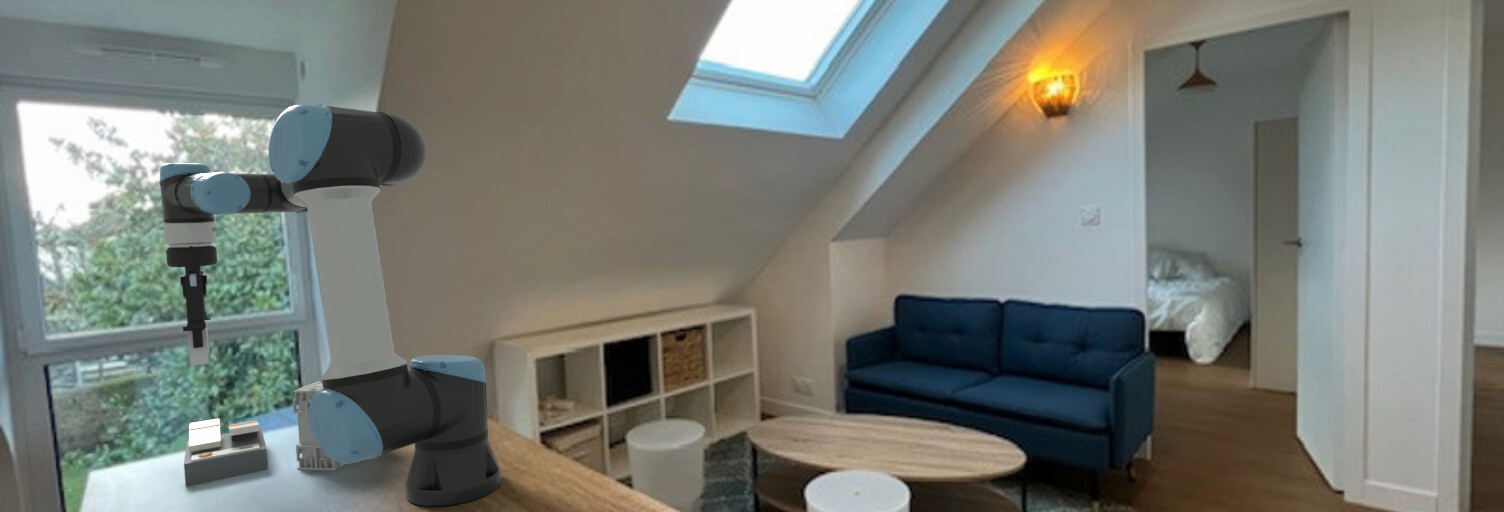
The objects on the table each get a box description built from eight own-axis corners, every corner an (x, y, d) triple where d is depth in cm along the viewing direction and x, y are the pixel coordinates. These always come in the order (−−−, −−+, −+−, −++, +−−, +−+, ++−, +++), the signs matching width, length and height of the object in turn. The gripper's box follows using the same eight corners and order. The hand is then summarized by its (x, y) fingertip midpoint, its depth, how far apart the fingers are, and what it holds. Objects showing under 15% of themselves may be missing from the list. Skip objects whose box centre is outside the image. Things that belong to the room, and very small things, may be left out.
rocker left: (221, 446, 130) (220, 439, 130) (189, 452, 128) (188, 445, 127) (219, 424, 138) (219, 418, 138) (190, 429, 135) (189, 423, 135)
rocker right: (259, 430, 134) (258, 423, 134) (229, 436, 131) (229, 428, 131) (257, 426, 142) (257, 420, 142) (229, 431, 139) (228, 425, 139)
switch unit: (267, 469, 131) (266, 443, 130) (185, 486, 124) (183, 459, 123) (263, 446, 143) (261, 423, 143) (188, 460, 136) (186, 435, 136)
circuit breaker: (382, 443, 144) (378, 372, 143) (334, 470, 130) (329, 391, 129) (348, 443, 145) (344, 372, 144) (297, 469, 131) (292, 390, 129)
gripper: (216, 246, 126) (225, 366, 128) (216, 241, 144) (224, 346, 146) (161, 249, 121) (172, 373, 123) (168, 243, 140) (177, 352, 141)
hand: (200, 359), depth 135 cm, fingers open, 11 cm apart
